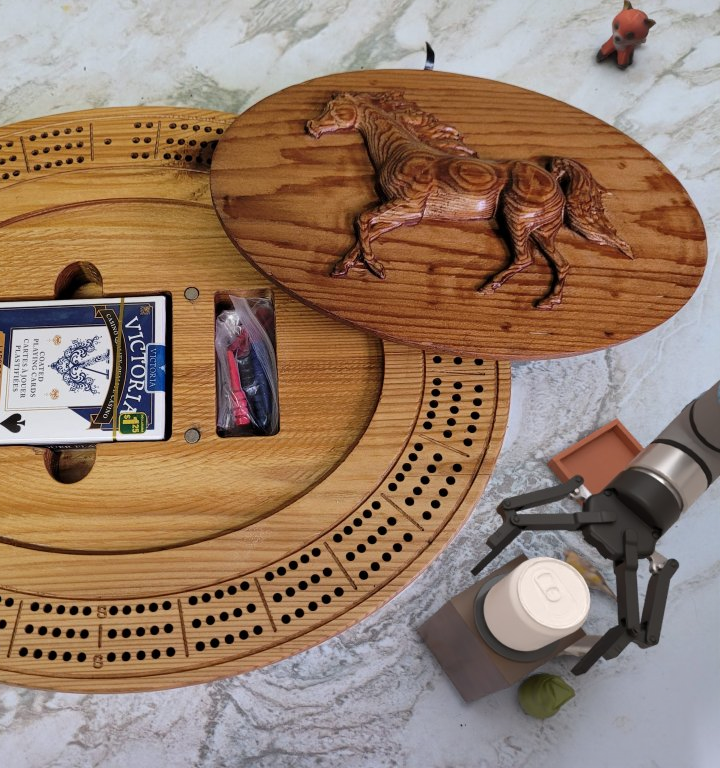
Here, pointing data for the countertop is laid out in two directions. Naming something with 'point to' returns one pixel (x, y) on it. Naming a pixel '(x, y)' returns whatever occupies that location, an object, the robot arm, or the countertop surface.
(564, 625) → the beverage can
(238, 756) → the countertop surface
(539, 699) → the green pointed bulb
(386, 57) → the countertop surface
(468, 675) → the stand
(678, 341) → the countertop surface
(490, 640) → the coaster
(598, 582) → the decorative sculpture
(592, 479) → the tray
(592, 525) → the robot arm
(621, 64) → the stuffed fox
